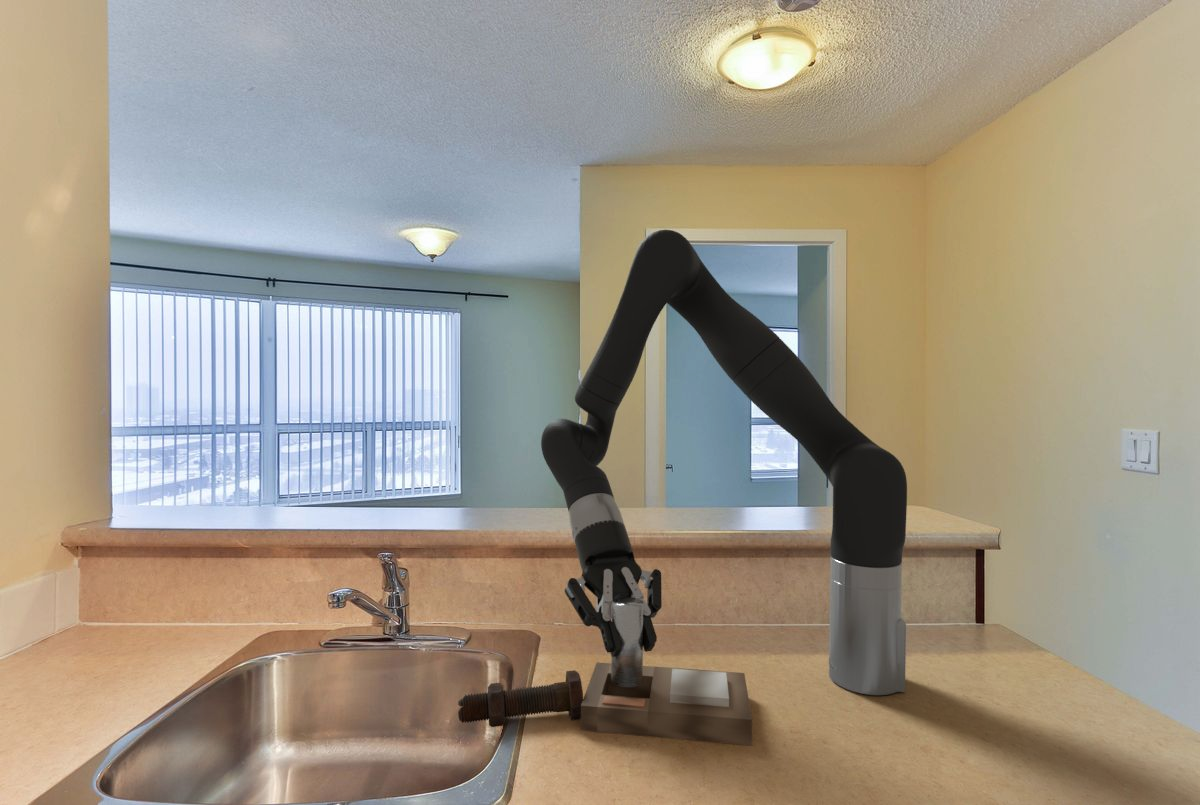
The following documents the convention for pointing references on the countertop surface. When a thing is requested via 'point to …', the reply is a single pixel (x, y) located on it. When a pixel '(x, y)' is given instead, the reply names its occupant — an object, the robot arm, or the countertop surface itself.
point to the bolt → (523, 701)
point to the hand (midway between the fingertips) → (633, 650)
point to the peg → (628, 642)
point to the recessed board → (670, 705)
